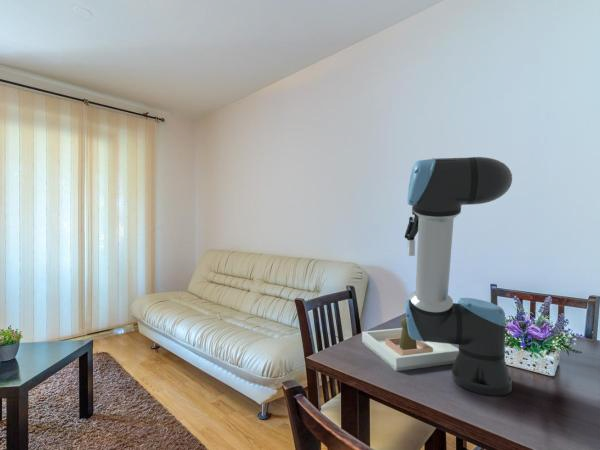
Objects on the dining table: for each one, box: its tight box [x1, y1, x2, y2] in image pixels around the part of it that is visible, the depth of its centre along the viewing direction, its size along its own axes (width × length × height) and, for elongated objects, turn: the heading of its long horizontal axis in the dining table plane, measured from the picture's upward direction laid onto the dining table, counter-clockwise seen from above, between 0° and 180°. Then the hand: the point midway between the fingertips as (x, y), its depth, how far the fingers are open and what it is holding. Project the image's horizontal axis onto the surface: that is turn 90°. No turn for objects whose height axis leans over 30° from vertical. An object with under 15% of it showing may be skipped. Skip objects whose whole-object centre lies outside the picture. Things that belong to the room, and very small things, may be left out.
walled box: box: [361, 327, 459, 372], centre depth 114 cm, size 24×24×4 cm
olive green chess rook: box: [399, 316, 417, 350], centre depth 114 cm, size 6×6×11 cm
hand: (421, 257), depth 130 cm, fingers open, 13 cm apart
